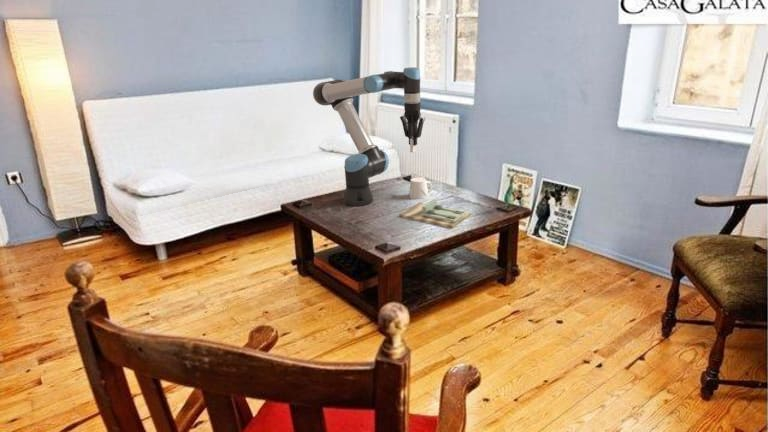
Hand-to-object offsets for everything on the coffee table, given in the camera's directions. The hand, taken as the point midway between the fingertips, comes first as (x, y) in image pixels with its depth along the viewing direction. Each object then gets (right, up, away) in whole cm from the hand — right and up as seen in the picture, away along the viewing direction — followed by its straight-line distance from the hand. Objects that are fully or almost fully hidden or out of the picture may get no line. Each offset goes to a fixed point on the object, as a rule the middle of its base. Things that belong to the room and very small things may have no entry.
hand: (413, 151), depth 242 cm
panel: (+14, -31, -11) cm, 35 cm away
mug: (+5, -21, +18) cm, 29 cm away
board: (+10, -31, -8) cm, 33 cm away
